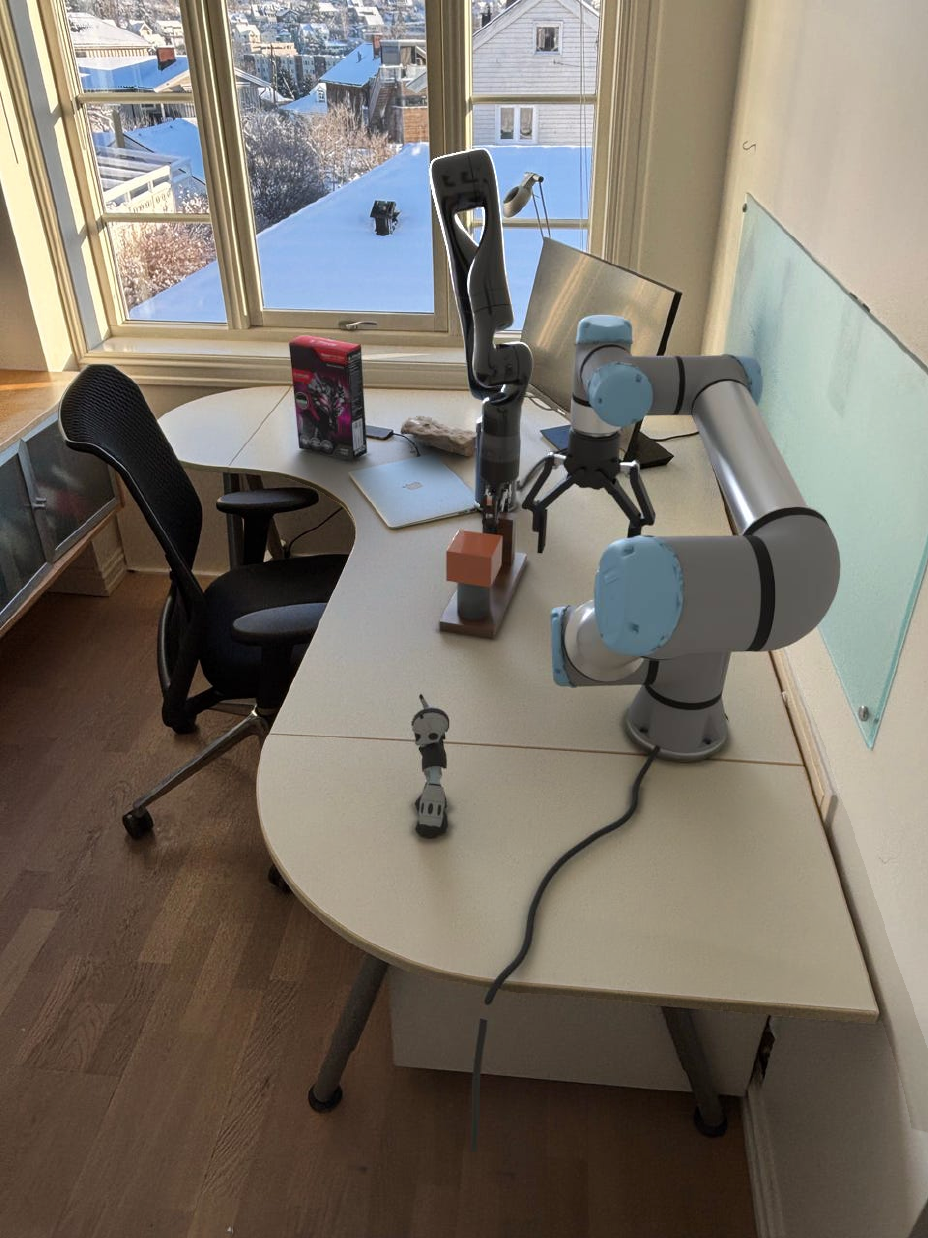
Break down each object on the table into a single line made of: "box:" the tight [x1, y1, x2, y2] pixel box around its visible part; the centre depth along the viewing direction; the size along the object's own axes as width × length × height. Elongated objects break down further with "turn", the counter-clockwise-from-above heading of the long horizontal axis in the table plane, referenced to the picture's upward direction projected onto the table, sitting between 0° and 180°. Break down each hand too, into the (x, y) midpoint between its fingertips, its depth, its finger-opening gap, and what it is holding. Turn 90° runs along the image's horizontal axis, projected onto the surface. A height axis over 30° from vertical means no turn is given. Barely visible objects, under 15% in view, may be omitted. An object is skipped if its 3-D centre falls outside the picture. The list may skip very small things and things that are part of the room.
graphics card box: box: [288, 334, 368, 462], centre depth 223 cm, size 17×7×27 cm, turn 62°
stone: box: [400, 415, 476, 457], centre depth 232 cm, size 21×15×6 cm
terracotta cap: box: [445, 529, 502, 587], centre depth 161 cm, size 8×8×6 cm
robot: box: [410, 693, 450, 839], centre depth 122 cm, size 20×5×20 cm, turn 3°
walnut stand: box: [439, 512, 528, 640], centre depth 172 cm, size 28×10×12 cm, turn 165°
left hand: (496, 530), depth 179 cm, fingers open, 8 cm apart
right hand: (583, 555), depth 145 cm, fingers open, 13 cm apart
